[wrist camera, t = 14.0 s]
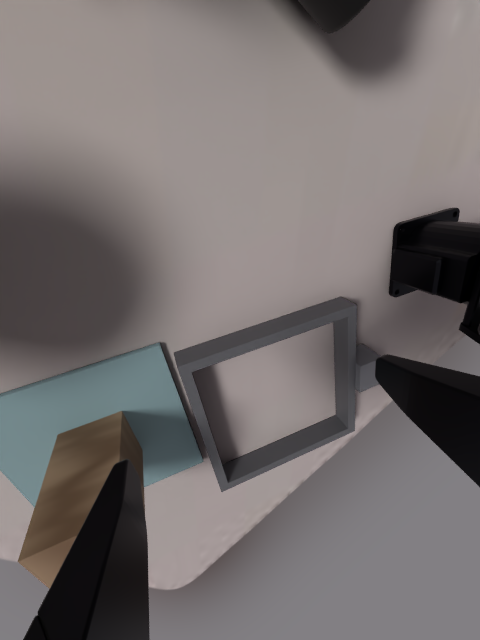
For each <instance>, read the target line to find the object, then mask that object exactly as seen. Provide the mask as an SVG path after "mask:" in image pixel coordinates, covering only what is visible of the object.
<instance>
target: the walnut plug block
mask: <svg viewBox="0 0 480 640" xmlns="http://www.w3.org/2000/svg"><path fill="white" fill-rule="evenodd" d="M125 459H129V460H130V461H131V462H132V464H133V466H134V468H135V470H136V471H137V473H138V475H139V478H140V482H141V490H142V498H143V505H144V476H143V450H142V448H141V446H140V444H139V442H138V440H137V438H136V437H135V435H134V433H133V431H132V429H131V427H130V425H129V423H128V421H127V419H126V417H125V416H124V414H123V412H122V411H120V412H117V413H115V414H112V415H109V416H106V417H104V418H101V419H98V420H96V421H93V422H90V423H87V424H85V425H82V426H79V427H77V428H74V429H71V430H68V431H66V432H63V433H60V434H58V435H57V438H56V442H55V445H54V448H53V451H52V454H51V457H50V461H49V464H48V467H47V470H46V473H45V477H44V480H43V483H42V486H41V489H40V493H39V496H38V499H37V502H36V505H35V508H34V512H33V515H32V518H31V521H30V524H29V528H28V531H27V534H26V537H25V540H24V544H23V547H22V550H21V553H20V556H19V559H18V562H19V563H20V564H21V565H22V566H23V567H25V568H26V569H27V570H28V571H29V572H30V573H32V574H33V575H34V576H35V577H36V578H38V579H39V580H40V581H41V582H42V583H43V584H45V585H46V586H47V587H48V588H49V589H50V587H51V585H52V583H53V581H54V579H55V577H56V575H57V573H58V572H59V570H60V568H61V566H62V564H63V562H64V560H65V558H66V556H67V554H68V552H69V550H70V548H71V546H72V544H73V543H74V541H75V539H76V537H77V535H78V533H79V531H80V529H81V527H82V525H83V523H84V521H85V519H86V517H87V516H88V514H89V512H90V510H91V508H92V506H93V504H94V502H95V500H96V498H97V496H98V494H99V492H100V490H101V488H102V487H103V485H104V483H105V481H106V479H107V477H108V475H109V473H110V471H111V469H112V467H113V466H114V464H116V463H118V462H120V461H122V460H125ZM144 513H145V505H144Z"/></svg>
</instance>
